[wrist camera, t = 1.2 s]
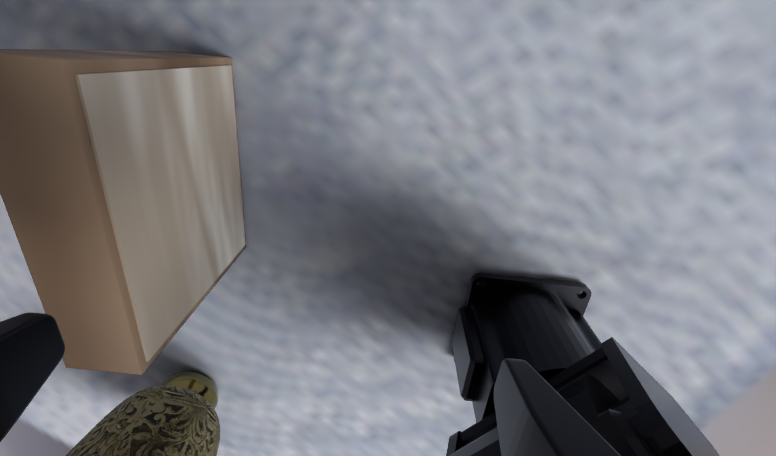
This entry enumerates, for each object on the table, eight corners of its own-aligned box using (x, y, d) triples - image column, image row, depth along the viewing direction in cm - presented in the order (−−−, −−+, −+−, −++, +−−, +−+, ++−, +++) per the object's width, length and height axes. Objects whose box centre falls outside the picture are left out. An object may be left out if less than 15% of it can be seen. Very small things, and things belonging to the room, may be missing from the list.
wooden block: (233, 57, 16) (63, 60, 8) (248, 246, 20) (144, 375, 12) (173, 51, 16) (-59, 48, 8) (199, 241, 20) (63, 367, 12)
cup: (116, 358, 24) (-6, 488, 17) (213, 332, 23) (125, 460, 16) (179, 431, 27) (98, 569, 20) (268, 411, 26) (216, 550, 19)
